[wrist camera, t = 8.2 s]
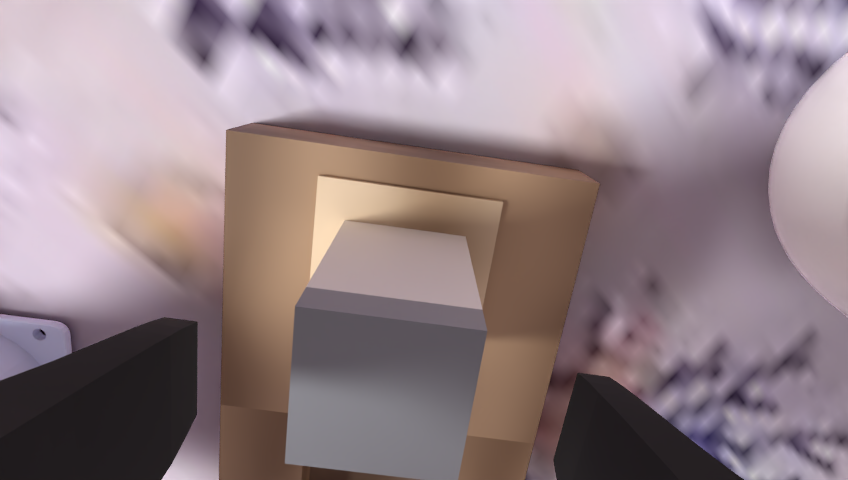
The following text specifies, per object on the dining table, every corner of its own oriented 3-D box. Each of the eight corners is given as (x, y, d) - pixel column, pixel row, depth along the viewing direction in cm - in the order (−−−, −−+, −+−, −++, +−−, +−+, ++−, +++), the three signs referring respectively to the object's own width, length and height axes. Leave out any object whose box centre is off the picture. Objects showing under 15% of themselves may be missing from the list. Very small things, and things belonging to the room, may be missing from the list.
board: (238, 510, 24) (215, 563, 21) (252, 123, 18) (223, 130, 16) (489, 539, 24) (497, 594, 22) (577, 170, 19) (602, 185, 16)
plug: (334, 328, 18) (284, 463, 12) (344, 220, 17) (295, 306, 10) (447, 343, 18) (457, 484, 12) (465, 236, 17) (487, 331, 10)
